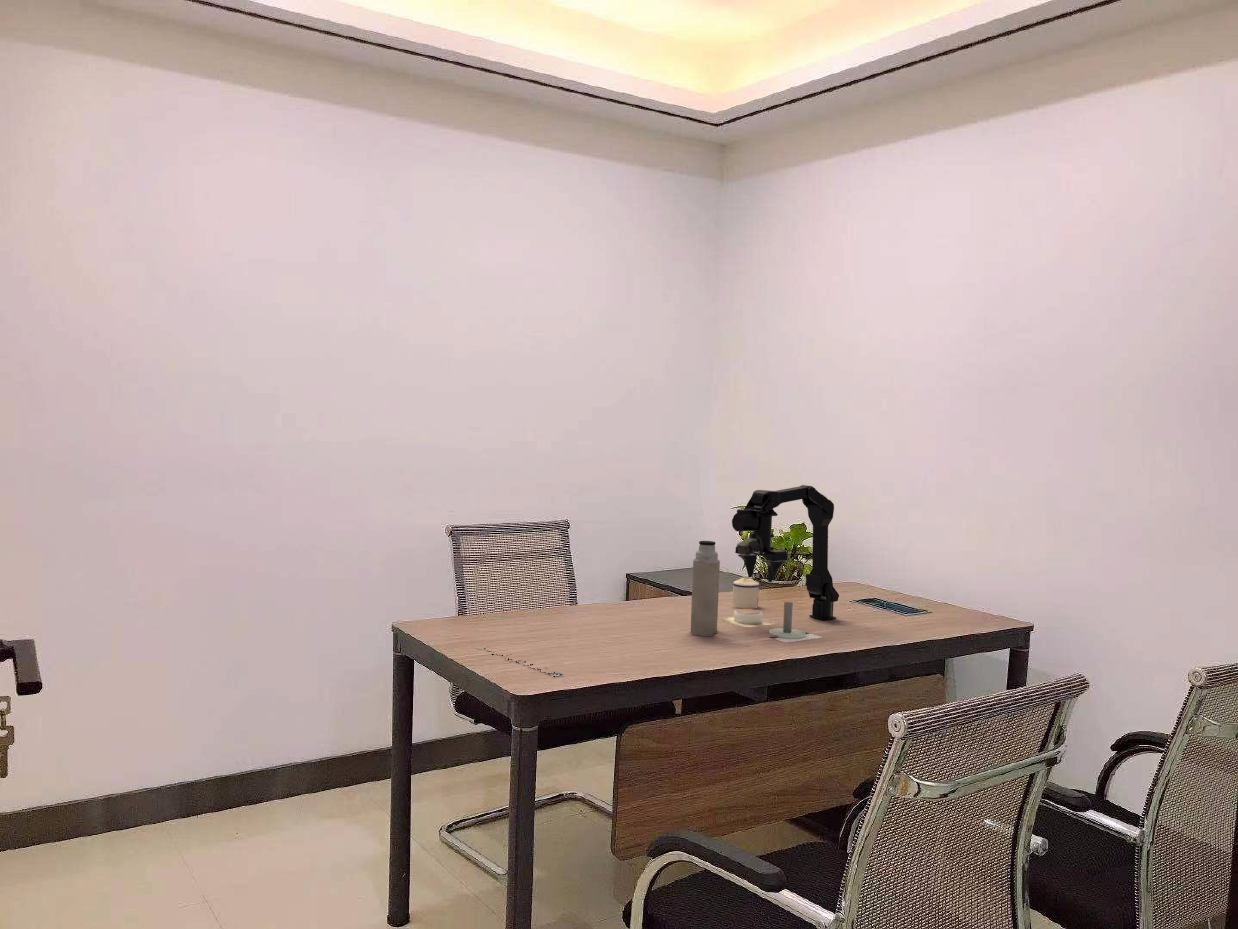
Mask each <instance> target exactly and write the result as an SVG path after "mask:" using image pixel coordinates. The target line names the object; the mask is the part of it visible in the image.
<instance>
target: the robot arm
mask: <svg viewBox="0 0 1238 929" xmlns="http://www.w3.org/2000/svg"><path fill="white" fill-rule="evenodd" d="M800 500H801V501H802V504H803V505H804V507H806V509H807V516H808V518H809V521H810V523H811V525H812V561H811V562H812V565H811V566H812V567H811V570H810V572H809V573H806V574H805V587H806V590H807V592H808V596H809V598H810V599H813V600H812V601H813V602H812V610H811V612H812V613H811V614H809V618H813V619H818V620H820V619H821V621H827V619H828V620H835V619H837V616H834V603H835V602H838V601H839V598H840V594H839V592H838V591H837V590H836V588H835V587H834V583H833V577H832V574H831V572H830V571H829V562H828V561H829V525H830V524H831V522H832V520H833V519H834V513H835V504H834V502H833V501H832V500H831V499H828V497H826V496H825V495H824V494H822V493H821V492H819V491H818V490H817V489H816V488H815V487H814V486H812V485H805V484H801V485H800V486H794V487H789V488H783V489H779V490H767V489H766V490H765V489H756V490H754V491H753V493H752V494H751V496H750V499H749V500H748V501H747V503H746V505H745V507H744V509H742V508H741V509H740V508H739V509H736V513H735V514H734V515H733V517H732V519H731V526H732V528H733V529H734V531H735V532H750V533H749V534H748V535H749V537H748V538H747V539H743V540H742V541H741V542H738V543H737V544H736V547H735V550H734V551H735V554H737V556H738V557H740V558H741V559H742V561H743V563H744V566H745V569H746V572H747V575H748V576H749V578H752V577H753V576H754V572H755V567H756V563H757V559H758V556H762V557H765V559H766V560H764V562H765V564H766V565H767V580H768V581H767V582H769V583H772V582H773V581H774V578H775V576H776V575H777V573H778V571H779V569H780V568H781V566H782V565H783V563H785V562H786V561H788V557H789V554H788V553H787V551H786V550H781V549H774V546H772V538H774V537H775V534H774V533H772V522H773V517H777V516H778V512H776V511H775V510H774V509H775V508H777V507H779V506H780V505H781V504H784V503H789V502H794V501H800Z"/></svg>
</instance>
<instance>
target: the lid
mask: <svg viewBox="0 0 1238 929" xmlns="http://www.w3.org/2000/svg"><path fill="white" fill-rule="evenodd" d="M783 604H784V605H783V626H782V627H779V628H778V627H776V628H771V629H769V630H768V633H769V634H770V635H772V636H773V635H774V636H773V637H778V638H785V639H799V638H804V637H805V636H806V633H807V632H806V633H805V631H804V630H800V629H796V628H792V626H793V623H792V622H793V604H794V603H793V602H791V601H784V602H783Z"/></svg>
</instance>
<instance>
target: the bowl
mask: <svg viewBox="0 0 1238 929" xmlns="http://www.w3.org/2000/svg"><path fill="white" fill-rule="evenodd" d="M733 617H734V621H735V622H737V623H742V624H760V623H762V619H763V611H761V610H758V609H743V608H738V609H734V610H733Z"/></svg>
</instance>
